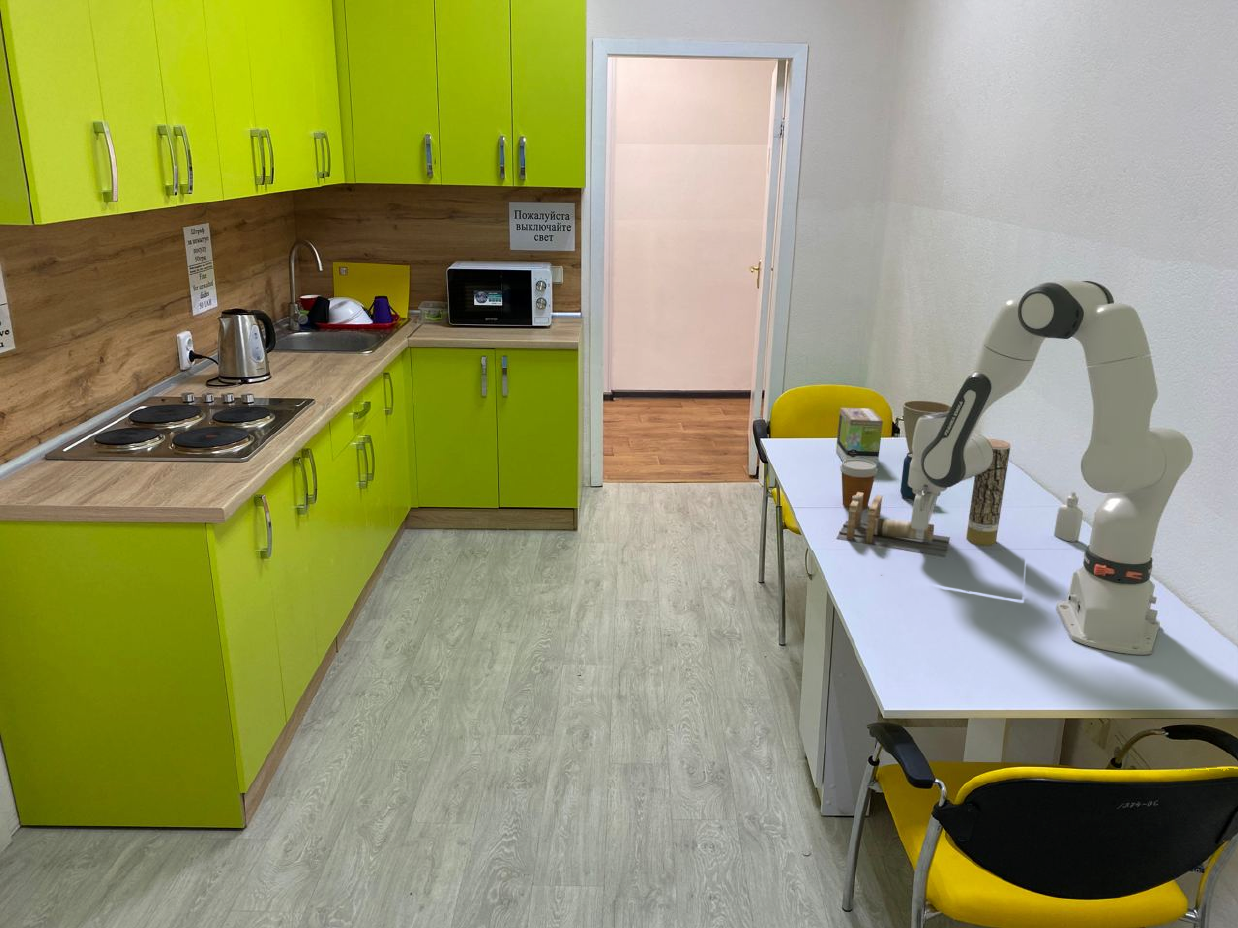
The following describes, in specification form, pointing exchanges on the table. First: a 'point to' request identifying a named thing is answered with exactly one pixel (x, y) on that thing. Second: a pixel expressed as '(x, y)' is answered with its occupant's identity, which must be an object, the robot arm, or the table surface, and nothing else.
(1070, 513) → the eye dropper bottle
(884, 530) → the wooden roller
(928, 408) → the plant pot
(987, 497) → the paper tube
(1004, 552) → the table surface
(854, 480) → the disposable coffee cup
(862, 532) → the collar stand
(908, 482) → the robot arm
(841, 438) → the tea box
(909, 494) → the soda can
